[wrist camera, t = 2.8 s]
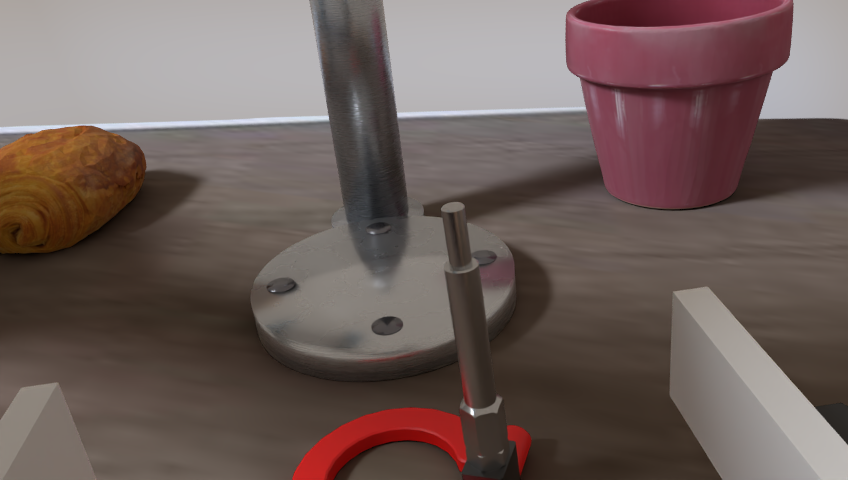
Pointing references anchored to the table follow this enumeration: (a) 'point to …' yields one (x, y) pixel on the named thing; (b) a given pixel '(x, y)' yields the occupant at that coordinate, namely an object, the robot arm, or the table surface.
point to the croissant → (64, 186)
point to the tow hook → (481, 406)
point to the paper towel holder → (370, 236)
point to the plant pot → (675, 91)
